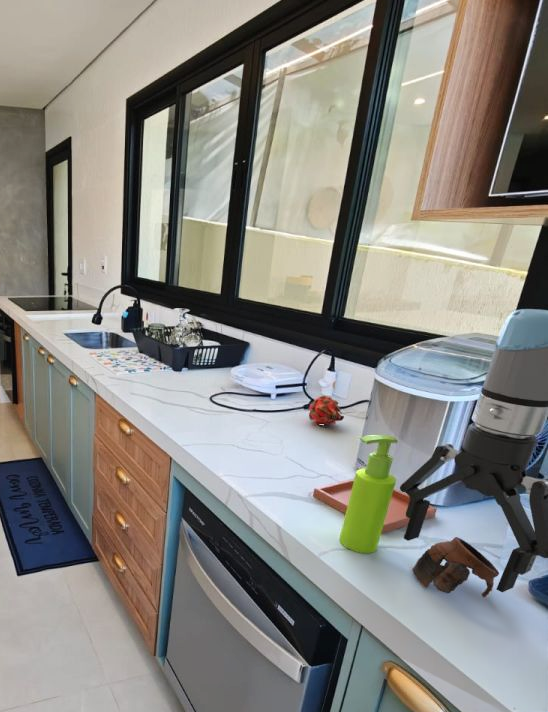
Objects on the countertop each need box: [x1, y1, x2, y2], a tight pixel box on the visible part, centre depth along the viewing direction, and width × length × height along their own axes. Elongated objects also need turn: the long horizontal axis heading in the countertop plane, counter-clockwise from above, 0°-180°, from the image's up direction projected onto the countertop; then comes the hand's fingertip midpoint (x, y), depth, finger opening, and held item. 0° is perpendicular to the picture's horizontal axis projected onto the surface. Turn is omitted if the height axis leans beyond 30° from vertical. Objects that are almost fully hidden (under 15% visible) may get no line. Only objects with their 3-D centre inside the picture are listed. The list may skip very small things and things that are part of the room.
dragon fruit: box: [308, 395, 345, 427], centre depth 144 cm, size 8×8×12 cm
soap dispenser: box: [339, 434, 398, 554], centre depth 84 cm, size 6×7×20 cm
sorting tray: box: [312, 477, 438, 535], centre depth 100 cm, size 16×16×2 cm
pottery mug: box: [412, 536, 500, 598], centre depth 76 cm, size 12×10×8 cm
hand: (454, 561), depth 75 cm, fingers open, 13 cm apart
